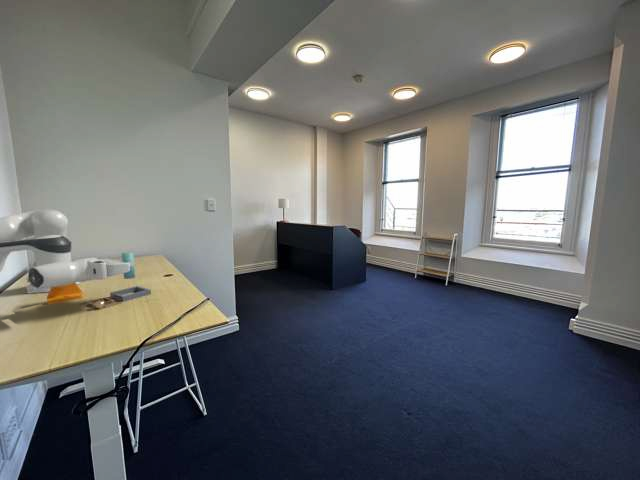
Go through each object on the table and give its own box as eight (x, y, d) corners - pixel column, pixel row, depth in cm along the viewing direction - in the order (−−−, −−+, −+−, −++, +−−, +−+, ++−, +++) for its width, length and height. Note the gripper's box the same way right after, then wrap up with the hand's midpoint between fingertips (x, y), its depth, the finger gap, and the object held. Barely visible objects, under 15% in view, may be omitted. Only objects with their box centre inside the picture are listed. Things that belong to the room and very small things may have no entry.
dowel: (122, 278, 113) (119, 253, 111) (132, 276, 116) (130, 252, 115) (126, 279, 111) (124, 254, 110) (137, 277, 114) (135, 252, 113)
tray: (110, 299, 113) (110, 292, 112) (138, 292, 122) (137, 285, 122) (123, 304, 107) (123, 296, 107) (151, 296, 117) (150, 289, 117)
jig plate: (79, 306, 105) (79, 301, 104) (106, 299, 112) (105, 295, 112) (95, 313, 98) (95, 308, 98) (122, 305, 106) (122, 300, 106)
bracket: (47, 307, 104) (44, 278, 102) (47, 303, 108) (44, 275, 107) (83, 301, 111) (80, 274, 110) (82, 297, 116) (79, 271, 115)
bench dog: (93, 308, 100) (92, 302, 99) (102, 306, 102) (102, 300, 102) (97, 310, 98) (96, 303, 98) (106, 307, 101) (105, 301, 101)
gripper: (80, 273, 107) (119, 266, 119) (104, 280, 97) (143, 272, 109) (79, 258, 106) (118, 253, 118) (102, 263, 96) (142, 257, 108)
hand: (130, 262), depth 114 cm, fingers closed on dowel, 4 cm apart
